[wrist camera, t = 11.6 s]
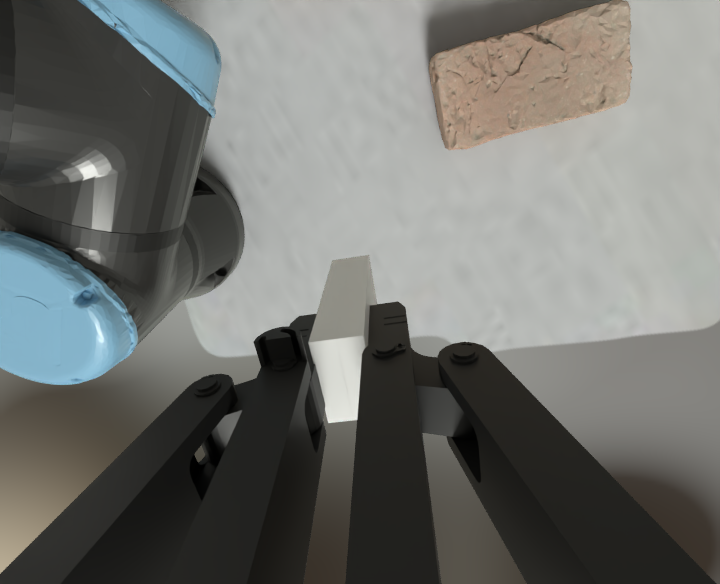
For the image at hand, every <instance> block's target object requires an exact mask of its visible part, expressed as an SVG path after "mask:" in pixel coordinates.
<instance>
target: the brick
mask: <svg viewBox="0 0 720 584" xmlns="http://www.w3.org/2000/svg"><path fill="white" fill-rule="evenodd" d="M630 29H631V22H630V6H629V4H628V2H627V1H622V0H613V1H609V2H607V3H603V4H598V5H594V6H591V7H587V8H583V9H579V10H576V11H573V12H570V13H567V14H564V15H562V16H559V17H557V18H553V19H549V20H547V21H545V22H543V23H541V24H538V25H533V26H531V27H528V28H525V29H522V30H519V31H517V32H511V33H509V34H502V35H498V36H493V37H489V38H487V39H484V40H478V41H474V42H471V43H468V44H464V45H461V46H458V47H455V48H452V49H450V50H448V49H447V50H445V51H442V52H439V53H436V54H435V56H433V57H432V58H431V60H430V63H429V73H430V80H431V86H432V91H433V94H434V99H435V104H436V110H437V117H438V122H439V127H440V131H441V136H442V140H443V142H444V145H445V148H447V149H448V150H455V149H468V148H471V147H474V146H477V145H480V144H483V143H485V142H488V141H490V140H493V139H497V138H501V137H503V136H507V135H510V134H514V133H518V132H521V131H525V130H529V129H533V128H538V127H542V126H547V125H550V124H555V123H558V122H562V121H566V120H570V119H575V118H578V117H580V116H584V115H589V114H593V113H597V112H601V111H605V110H607V109H609V108H612V107H616V106H619V105H621V104H623V103H625V102H626V101H627V99H628V98H629V95H630V82H631V78H632V77H631V72H632V64H631V62H630V43H629V35H630Z"/></svg>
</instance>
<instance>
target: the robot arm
mask: <svg viewBox="0 0 720 584" xmlns="http://www.w3.org/2000/svg"><path fill="white" fill-rule="evenodd" d="M220 72H221V56H220V52H219V49H218V47H217V45H216V43H215V42H214V40H213V39H212V37H211V36H210V35H209V34H208V33H207V32H206V31H205V30H203V29H202V28H201V27H199V26H198V25H197V24H195V23H194V22H192V21H191V20H189V19H188V18H187V17H185V16H184V15H182V14H180V13H179V12H177V11H176V10H174V9H173V8H171V7H170V6H168V5H167V4H165V3H163V2H162V1H160V0H0V368H2V369H4V370H6V371H8V372H10V373H12V374H15V375H17V376H20V377H23V378H26V379H29V380H33V381H36V382H41V383H47V384H56V385H67V384H68V385H69V384H78V383H81V382H83V381H88V380H90V379H95V378H97V377H99V376H101V375H102V374H104V373H105V372H107V371H108V370H110V369H111V368H112V367H114V366H115V365H116V364H118V363H119V362H120V361H122V360H124V359H125V358H126V357H128V356H129V355H130V354H131V353H132V352H133V351H134V348H135V347H136V346H137V345H138V344H139V343H140V342H141V340H143V339H144V338H145V337H146V336H147V335H148V333H149V332H151V331H152V329H154V327H155V326H156V325H157V324H158V323H159V322H160V321H161V320H162V319H163V318H164V317H165V316H166V315H167V314H168V313H169V312H170V311H171V310H172V309H173V308H174V307H175V306H176V305H177V304H178V303H179V302H180V301H182V300H186V299H190V298H194V297H198V296H201V295H204V294H206V293H208V292H210V291H212V290H213V289H215V288H217V287H218V286H219V285H220V284H222V283H223V282H224V281H225V280H226V279H227V277H228V276H229V275H230V274H231V273H232V272H233V270H234V269H235V268H236V266H237V264H238V262H239V260H240V258H241V255H242V252H243V247H244V226H243V221H242V218H241V214H240V212H239V209H238V207H237V205H236V203H235V201H234V199H233V198H232V196H231V195H230V193H229V192H228V190H227V189H226V188H225V187H224V186H223V185H222V184H221V183H220V182H219V181H218V180H217V179H216V178H215V177H214V176H213V175H211V174H210V173H209V172H207V171H206V170H204V169H202V168H201V167H199V166H200V162H201V158H202V154H203V150H204V146H205V142H206V138H207V134H208V130H209V126H210V122H211V118H214V117H215V114H216V110H215V108H214V102H215V97H216V92H217V87H218V82H219V77H220ZM254 345H255V348H256V351H257V354H258V358H259V361H260V364H261V369H260V371H259V374H258V376H257V378H255V379H253V380H250V381H247V382H244V383H241V384H238V385H234V383H233V380H232V378H231V377H230V376H229V375H224V374H215V375H209V376H206V377H203V378H201V379H200V380H198V381H196V382H194V383H193V384H191V385H190V386H189V387H188V388H187V389H186V390H185V391H184V392H183V393H182V394H181V395H180V396H179V397H178V398H177V399H176V400H175V401H174V402H173V403H172V404H171V405H170V406H169V407H168V408H167V409H166V410H165V411H164V412H163V413H161V415H159V417H157V418H156V419H155V420H154V421H153V423H151V424H150V425H149V426H148V427H147V428H146V429H145V430H144V431H143V432H142V433H141V435H140V436H138V437H137V438H136V439H135V440H134V441H133V442H132V443H131V444H130V445H129V446H128V447H127V448H126V449H125V450H124V452H122V453H121V454H120V455H119V456H118V457H117V458H116V459H115V460H114V461H113V462H112V463H111V464H110V466H108V467H107V468H106V469H105V470H104V471H103V472H102V473H101V474H100V475H99V476H98V477H97V478H96V479H95V480H94V481H93V482H92V483H91V484H90V485H89V486H88V487H87V488H86V489H85V490H84V491H83V492H82V493H81V494H80V495H79V496H78V497H77V498H76V499H75V500H74V501H73V502H72V503H71V504H70V505H69V506H68V507H67V508H66V509H65V510H64V511H63V512H62V513H61V514H60V515H59V516H58V517H57V518H56V519H55V520H54V521H53V522H52V523H51V524H50V525H49V526H48V527H47V528H46V529H45V530H44V531H43V532H42V533H41V534H40V535H39V536H38V537H37V538H36V539H35V540H34V541H33V542H32V543H31V544H30V545H29V546H28V547H27V548H26V549H25V550H24V551H23V552H22V553H21V554H20V555H19V556H18V557H17V558H16V559H15V560H14V561H13V562H12V563H11V564H10V565H9V566H8V567H7V568H6V569H5V570H4V571H3V572H2V573H1V574H0V584H303V582H304V575H305V569H306V563H307V556H308V549H309V543H310V537H311V530H312V523H313V517H314V511H315V505H316V498H317V491H318V485H319V479H320V472H321V466H322V459H323V452H324V446H325V440H326V430H325V426H324V422H323V416H324V411H325V412H326V416H327V419H328V423H333V422H341V421H351V420H357V431H356V445H355V460H354V473H353V486H352V500H351V514H350V528H349V542H348V556H347V570H346V584H442V583H441V576H440V568H439V560H438V552H437V545H436V537H435V529H434V522H433V513H432V506H431V497H430V490H429V482H428V474H427V466H426V458H425V451H424V441H423V434H422V433H429V434H436V435H443V436H447V440H448V443H449V446H450V447H451V449H452V451H453V453H454V455H455V456H456V458H457V460H458V461H459V463H460V465H461V467H462V469H463V471H464V472H465V474H466V476H467V478H468V479H469V481H470V483H471V485H472V487H473V488H474V490H475V492H476V494H477V496H478V497H479V499H480V501H481V503H482V505H483V506H484V508H485V510H486V512H487V513H488V515H489V517H490V519H491V521H492V522H493V524H494V526H495V528H496V530H497V531H498V533H499V535H500V537H501V538H502V540H503V542H504V544H505V546H506V547H507V549H508V551H509V553H510V555H511V556H512V558H513V560H514V562H515V563H516V565H517V567H518V569H519V571H520V572H521V574H522V576H523V578H524V580H525V581H526V583H527V584H716V583H715V582H714V581H713V580H712V579H711V578H710V577H709V576H708V575H707V574H706V573H705V572H704V571H703V569H702V568H701V567H700V566H699V565H698V564H697V563H696V562H695V561H694V560H693V559H692V558H691V557H690V556H689V555H688V554H687V553H686V552H685V551H684V550H683V549H682V548H681V547H680V546H679V545H678V544H677V543H676V542H675V541H674V540H673V539H672V538H671V537H670V536H669V535H668V533H667V532H665V530H664V529H663V528H662V527H661V526H660V525H659V524H658V523H657V522H656V521H655V520H654V519H653V518H652V517H651V516H650V515H649V514H648V513H647V512H646V511H645V510H644V509H643V508H642V507H641V506H640V505H639V504H638V503H637V502H636V501H635V500H634V499H633V497H631V496H630V495H629V493H628V492H626V490H625V489H624V488H623V487H622V486H621V485H620V484H619V483H618V482H617V481H616V480H615V479H614V478H613V477H612V476H611V475H610V474H609V473H608V472H607V471H606V470H605V469H604V468H603V467H602V466H601V465H600V464H599V463H598V461H597V460H596V459H595V458H594V457H593V456H592V455H591V454H590V453H589V452H588V451H587V450H586V449H585V448H584V447H583V446H582V445H581V444H580V443H579V442H578V441H577V440H576V439H575V438H574V437H573V436H572V435H571V434H570V433H569V432H568V431H567V430H566V429H565V428H564V427H563V426H562V424H561V423H559V421H558V420H557V419H556V418H555V417H554V416H553V415H552V414H551V413H550V412H549V411H548V410H547V409H546V408H545V407H544V406H543V405H542V404H541V403H540V402H539V401H538V400H537V399H536V398H535V397H534V396H533V395H532V394H531V393H530V392H529V390H527V389H526V388H525V386H524V385H523V384H522V383H521V382H520V381H519V380H518V379H517V378H516V377H515V376H514V375H513V374H512V373H511V372H510V371H509V370H508V369H507V368H506V367H505V366H504V365H503V364H502V363H501V362H500V361H499V360H498V359H497V358H496V357H495V356H494V354H493V353H492V352H491V351H490V350H489V349H487V348H486V347H484V346H483V345H479V344H476V343H471V342H460V343H455V344H452V345H449V346H447V347H445V348H444V349H442V350H441V351H440V352H439V355H438V358H436V357H428V356H423V355H420V354H418V353H416V352H415V351H414V350H413V349H412V348H411V345H410V338H409V331H408V324H407V316H406V309H405V307H404V306H403V305H402V304H401V303H399V302H392V303H385V304H377V300H376V294H375V288H374V282H373V277H372V271H371V265H370V259H369V255H366V256H359V257H353V258H346V259H339V260H333V261H332V264H331V267H330V271H329V274H328V278H327V281H326V284H325V288H324V291H323V294H322V298H321V301H320V305H319V308H318V311H317V314H312V315H304V316H299V317H298V318H296V319H295V320H294V321H293V322H292V323H291V324H290V326H289V327H279V328H275V329H272V330H269V331H267V332H264V333H263V334H261V335H260V336H258V337H257V338H256V339H255V341H254ZM201 445H202V447H203V450H204V452H205V457H204V458H203V459H202V460H201V461H200V462H199V463H198V462H197V460H196V458H195V455H194V454H195V452H196V451H197V450H198V448H199V447H200V446H201Z"/></svg>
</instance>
